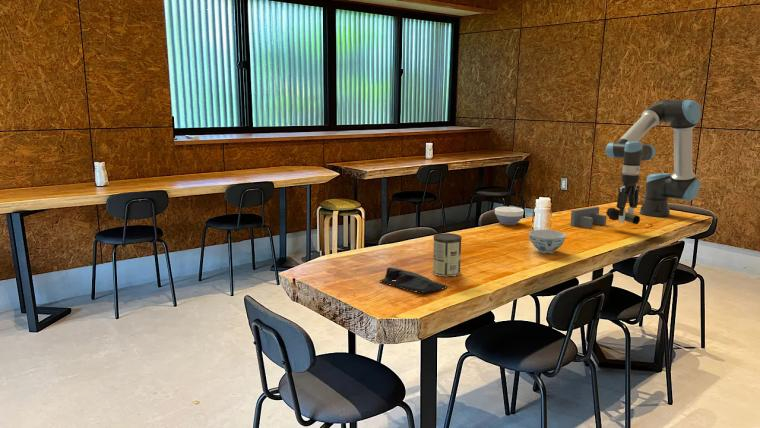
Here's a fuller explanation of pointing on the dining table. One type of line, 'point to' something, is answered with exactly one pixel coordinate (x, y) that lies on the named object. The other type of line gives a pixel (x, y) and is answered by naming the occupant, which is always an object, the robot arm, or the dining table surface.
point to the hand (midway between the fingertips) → (625, 221)
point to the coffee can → (447, 254)
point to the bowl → (509, 215)
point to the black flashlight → (631, 218)
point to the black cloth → (411, 281)
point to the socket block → (587, 217)
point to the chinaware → (546, 240)
